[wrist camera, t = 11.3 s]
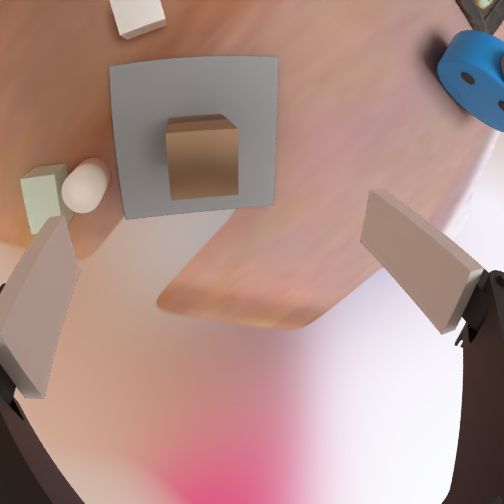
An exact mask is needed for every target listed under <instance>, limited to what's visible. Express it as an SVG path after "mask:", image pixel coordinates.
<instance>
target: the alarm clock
mask: <svg viewBox="0 0 504 504" xmlns="http://www.w3.org/2000/svg"><path fill="white" fill-rule="evenodd" d="M445 49H446V51H445V53H444V55H443V56H442V58H441V60H440V61H439V63H438V66H437V73H438V76H439V79H440V81H441V83H442V84H443V86H444V87H445V89H446V90H447V91H448V93H449V94H450V95H451V96H452V97H453V98H454V99H455V100H456V101H457V102H458V103H459V104H460V105H461V106H462V107H463V108H464V109H466V110H467V111H468V112H469V113H470V114H472V115H473V116H474V117H476V118H477V119H479V120H480V121H482V122H483V123H485V124H487V125H488V126H490V127H492V128H494V129H496V130H499V131H501V132H504V42H503V41H502V40H500V39H498V38H496V37H494V36H492V35H490V34H487V33H484V32H481V31H475V30H466V31H461V32H459V33H457V34H456V35H455V36H454V38H453V39H452V41H451V43H450V45H449V46H448V48H447V47H446V48H445Z"/></svg>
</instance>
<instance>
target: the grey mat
mask: <svg viewBox="0 0 504 504" xmlns="http://www.w3.org/2000/svg"><path fill="white" fill-rule="evenodd" d="M278 61H279V57H264V56H204V57H185V58H172V59H161V60H152V61H143V62H135V63H128V64H122V65H115V66H110V67H109V74H110V93H111V108H112V120H113V131H114V141H115V150H116V158H117V166H118V174H119V181H120V188H121V194H122V201H123V207H124V213H125V218H126V220H128V219H137V218H145V217H154V216H163V215H173V214H182V213H192V212H203V211H214V210H224V209H237V208H249V207H262V206H274V184H275V159H276V132H277V100H278ZM209 114H222V115H223V116H225V117H226V118H227V119H228V120H229V121H230V122H231V123H233V124H234V125H235V126H236V127H237V128H238V182H239V195H230V196H218V197H206V198H195V199H184V200H175V201H171V196H170V185H169V173H168V161H167V147H166V129H167V125H168V120H169V117H181V116H194V115H209Z"/></svg>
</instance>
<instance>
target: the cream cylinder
mask: <svg viewBox="0 0 504 504" xmlns="http://www.w3.org/2000/svg"><path fill="white" fill-rule="evenodd" d="M110 181H111V170H110V168H109V166H108V164H107V163H106V162H105V161H103V160H102V159H100V158H95V157H92V158H87V159H85V160H84V161H82V162H81V163H80V164H79V165H78V166H77V167H76V168H75V170H74V171H73V172H72V173H71V174H70V175H69V176H68V177H67V178H66V179H65V181H64V183H63V185H62V190H61V193H62V198H63V201H64V203H65V204H66V206H67V207H68V208H70V209H71V210H72V211H74V212H77V213H88V212H90V211H92V210H94V209H95V208H96V207H97V206H98V204H99V203H100V201H101V199H102V197H103V195H104V193H105V191H106V189H107V188H108V186H109V184H110Z"/></svg>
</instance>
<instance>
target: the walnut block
mask: <svg viewBox="0 0 504 504" xmlns="http://www.w3.org/2000/svg"><path fill="white" fill-rule="evenodd" d="M166 147H167V161H168V173H169V185H170V196H171V201H175V200H184V199H195V198H206V197H218V196H230V195H239V182H238V128H237V127H236V126H235V125H234V124H233V123H231V122H230V121H229V120H228V119H227V118H226V117H225V116H223V115H222V114H209V115H194V116H181V117H169V120H168V125H167V129H166Z"/></svg>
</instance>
